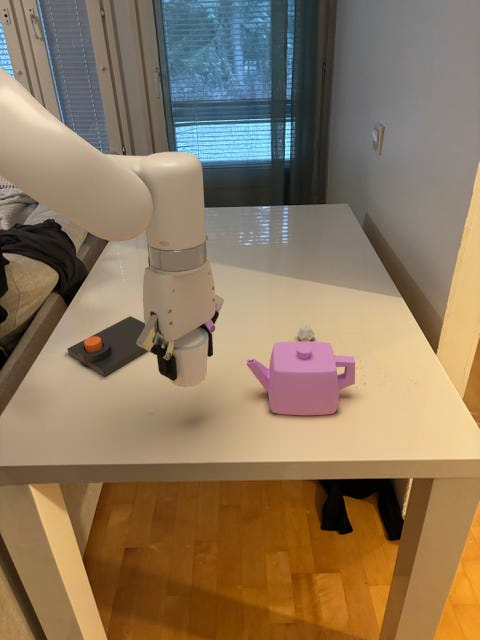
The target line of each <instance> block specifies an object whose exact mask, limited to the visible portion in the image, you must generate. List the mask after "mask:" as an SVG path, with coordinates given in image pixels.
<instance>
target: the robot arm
mask: <svg viewBox="0 0 480 640" xmlns="http://www.w3.org/2000/svg"><path fill="white" fill-rule="evenodd" d="M0 176H1V177H2V178H3V179H5V180H6V181H7V182H9V183H10V184H11V185H13V186H14V187H15V188H17V189H18V190H20V191H21V192H22V193H24V194H26V195H27V196H28V197H30V198H31V199H33V200H34V201H35V202H37V203H39V204H40V205H41V206H43V207H45V208H47V209H48V210H50V211H51V212H53V213H54V214H57V215H58V216H59V217H62V218H63V219H65V220H67V221H69V222H70V223H71V224H73V225H75V226H77V227H79V228H80V229H82V230H83V231H85V232H88V233H89V234H91V235H93V236H94V237H97V238H99V239H101V240H106V241H109V242H116V243H118V242H119V243H120V242H127V241H130V240H133V239H135V238H137V237H138V236H140V235H141V234H143V233H144V232H145V238H146V244H147V253H148V255H149V263H150V266H149V265H148V266H146V267H145V268H144V274H143V283H142V284H143V285H142V307H143V308H142V311H143V319H144V320H143V322H144V323H145V328H144V329H143V331H142V333H141V334H140V336H139V338H138V339H137V342H136V343H137V345H139V346H140V347H142V348H144V349H146V350H147V352H149V353H151V354H153V355H154V356H156V359H157V369H158V372H159V374H160V375H161V376H163V377H165V378H167V379H168V380H170V379H171V380H172V381H174V380H176V379H177V368H176V358H175V357H174V356H173V355H172V352H173V349H174V345H175V341H176V339H178V338H180V337H182V336H183V335H185V334H187V333H189V332H190V331H192V330H194V329H196V328H197V327H200V328H203V329H204V330H205V331H206V332H207V333H208V337H209V338H208V356H207V358H208V357H209V358H211V357H213V356H214V343H213V341H214V340H213V333H214V332H215V330H216V325H215V324H216V323H217V320H218V319H219V315H220V311H221V309H222V307H223V304H224V302H225V300H224V298H222V297H221V296H219V295H217V294H216V291H215V290H216V288H215V281H214V273H213V270H212V265H211V261H210V257H209V256H208V252H207V244H208V243H209V237H208V236H207V234H206V232H207V231H206V212H205V211H206V210H205V195H204V193H205V192H204V173H203V165H202V162H201V161H200V159H199V158H198V157H197V156H196V155H194V154H192V153H189V152H185V151H161V152H155V153H151V154H149V155H125V154H110V153H109V154H107V153H103V152H102V151H100V150H99V149H98V148H97V147H95V146H93V145H92V144H91V143H89V142H88V141H87V140H85V138H83V137H82V136H80V135H79V134H77V133H76V132H75V131H73V130H72V129H71V128H69V127H68V125H66V124H64V123H63V122H62V121H61V120H59V119H58V118H57V117H56V116H54V115H53V114H52V113H51V112H50V111H49V110H48V109H47V108H46V107H44V106H43V105H42V104H41V102H39V101H38V100H37V99H36V98H35V97H34V95H32V94H31V93H30V91H29V90H28V89H26V87H25V86H24V85H22V84H21V82H19V81H18V80H17V79H16V78H15V77H13V76H12V75H11V74H10V73H9V72H8V71H6V70H5V69H4V68H3V67H1V66H0ZM149 263H148V264H149ZM155 334H156V336H155ZM154 336H155V340H154V343H153V342H152V340H153V338H154ZM163 340H165V341H166V345H165V349H164V348H163V347H162V344H163ZM171 380H170V381H171Z"/></svg>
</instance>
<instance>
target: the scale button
mask: <svg viewBox="0 0 480 640" xmlns="http://www.w3.org/2000/svg"><path fill="white" fill-rule="evenodd" d="M92 336H93V335H92ZM85 339H86V340H85ZM85 339H84V340H85V341H84V345H85V349H86V351H87V352H96V351H99V350H101V349H102V347H103V346H102V341H101V338H100V337H97V336H93V337H91V336H89V337H87V338H85Z"/></svg>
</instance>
